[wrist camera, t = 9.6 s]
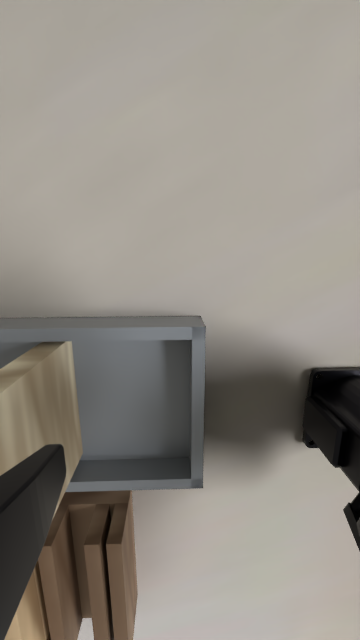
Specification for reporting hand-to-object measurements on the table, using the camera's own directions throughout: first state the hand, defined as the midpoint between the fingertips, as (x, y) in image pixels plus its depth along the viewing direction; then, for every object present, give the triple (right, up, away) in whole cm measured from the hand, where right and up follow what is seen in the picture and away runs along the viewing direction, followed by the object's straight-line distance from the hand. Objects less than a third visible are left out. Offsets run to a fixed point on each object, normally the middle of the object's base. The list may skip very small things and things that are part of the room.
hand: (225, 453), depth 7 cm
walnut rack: (-11, -16, +16) cm, 25 cm away
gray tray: (-9, -2, +12) cm, 16 cm away
